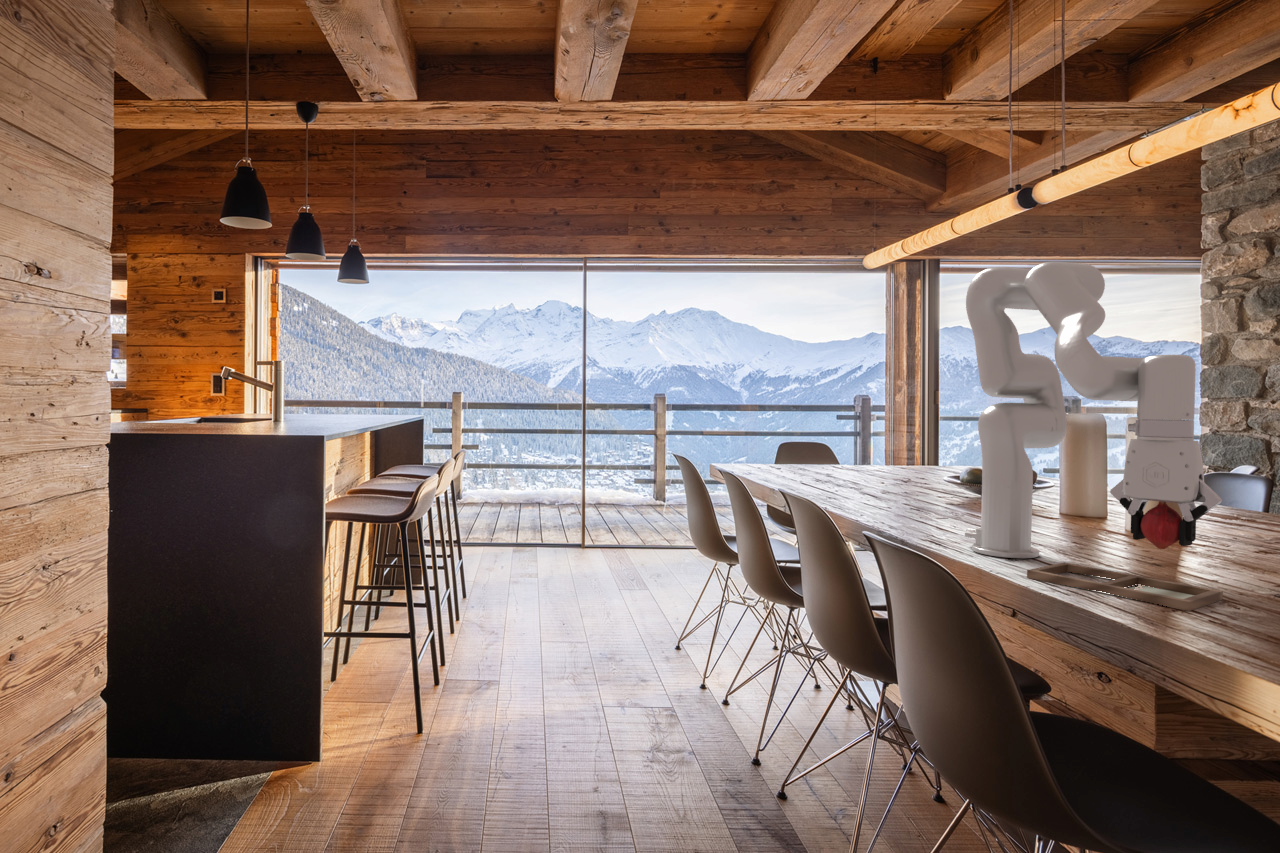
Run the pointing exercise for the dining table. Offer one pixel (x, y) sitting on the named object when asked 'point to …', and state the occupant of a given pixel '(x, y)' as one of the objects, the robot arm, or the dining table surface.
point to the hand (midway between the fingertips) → (1162, 540)
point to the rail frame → (1165, 595)
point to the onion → (1161, 525)
